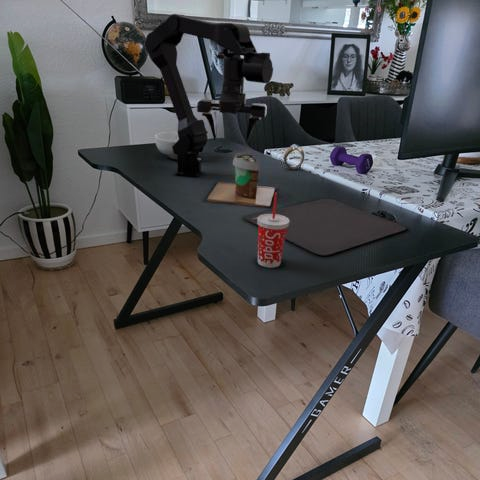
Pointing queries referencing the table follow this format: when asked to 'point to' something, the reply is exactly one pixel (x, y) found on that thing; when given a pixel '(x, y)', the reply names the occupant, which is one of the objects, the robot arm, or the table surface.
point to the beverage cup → (271, 237)
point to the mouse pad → (331, 226)
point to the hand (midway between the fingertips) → (230, 141)
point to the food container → (246, 175)
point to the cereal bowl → (167, 142)
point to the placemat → (228, 195)
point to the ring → (290, 152)
